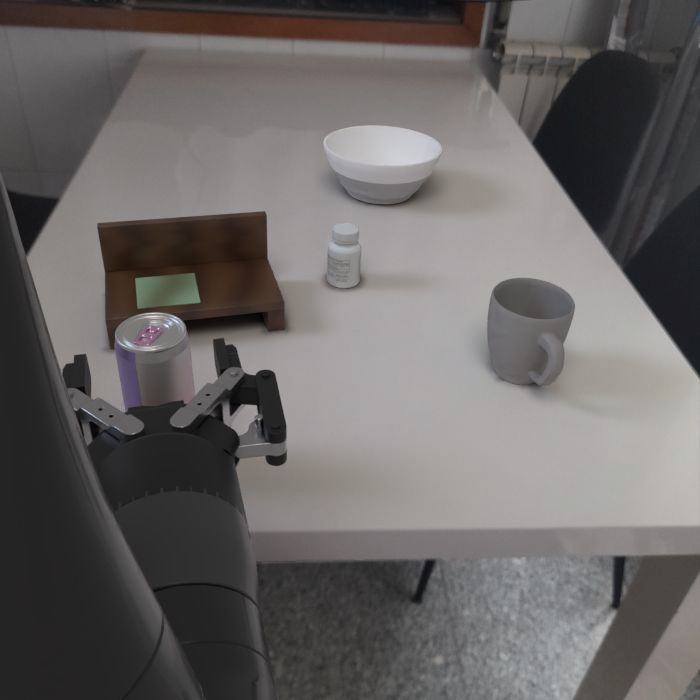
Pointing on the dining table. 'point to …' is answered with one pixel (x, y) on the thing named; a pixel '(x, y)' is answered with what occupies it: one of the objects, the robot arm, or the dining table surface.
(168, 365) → the beverage can
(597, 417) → the dining table surface
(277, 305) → the wooden stand
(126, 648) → the robot arm
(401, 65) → the dining table surface
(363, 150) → the bowl
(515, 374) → the mug
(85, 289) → the dining table surface
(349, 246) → the pill bottle
